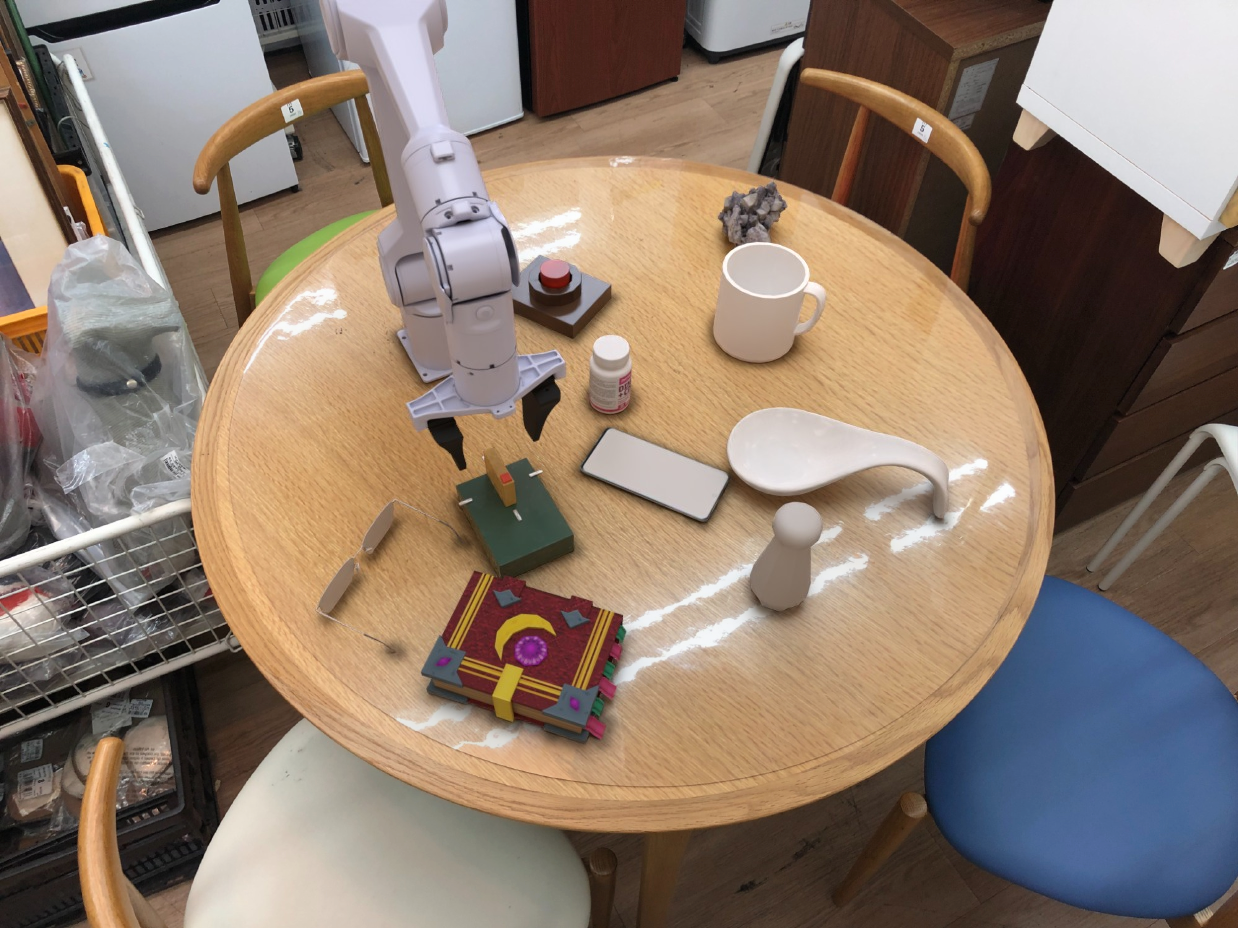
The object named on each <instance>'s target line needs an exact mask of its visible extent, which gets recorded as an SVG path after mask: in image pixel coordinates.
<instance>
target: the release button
mask: <svg viewBox="0 0 1238 928" xmlns="http://www.w3.org/2000/svg"><path fill="white" fill-rule="evenodd" d="M566 262H567V261H565V262H564V260H561V259H556V258H555V259H554V258H553V259H551V260H548V261H546V262H544V263H543V264H542V265H541V267H540V276H541V283H542V284H543V285H544V286H545V287H548V288H556V289H559V288H562V287H565V286H567V285H568V283H569V281H570V268H569V265H568V264H567V263H568V262H567V263H566Z"/></svg>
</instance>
